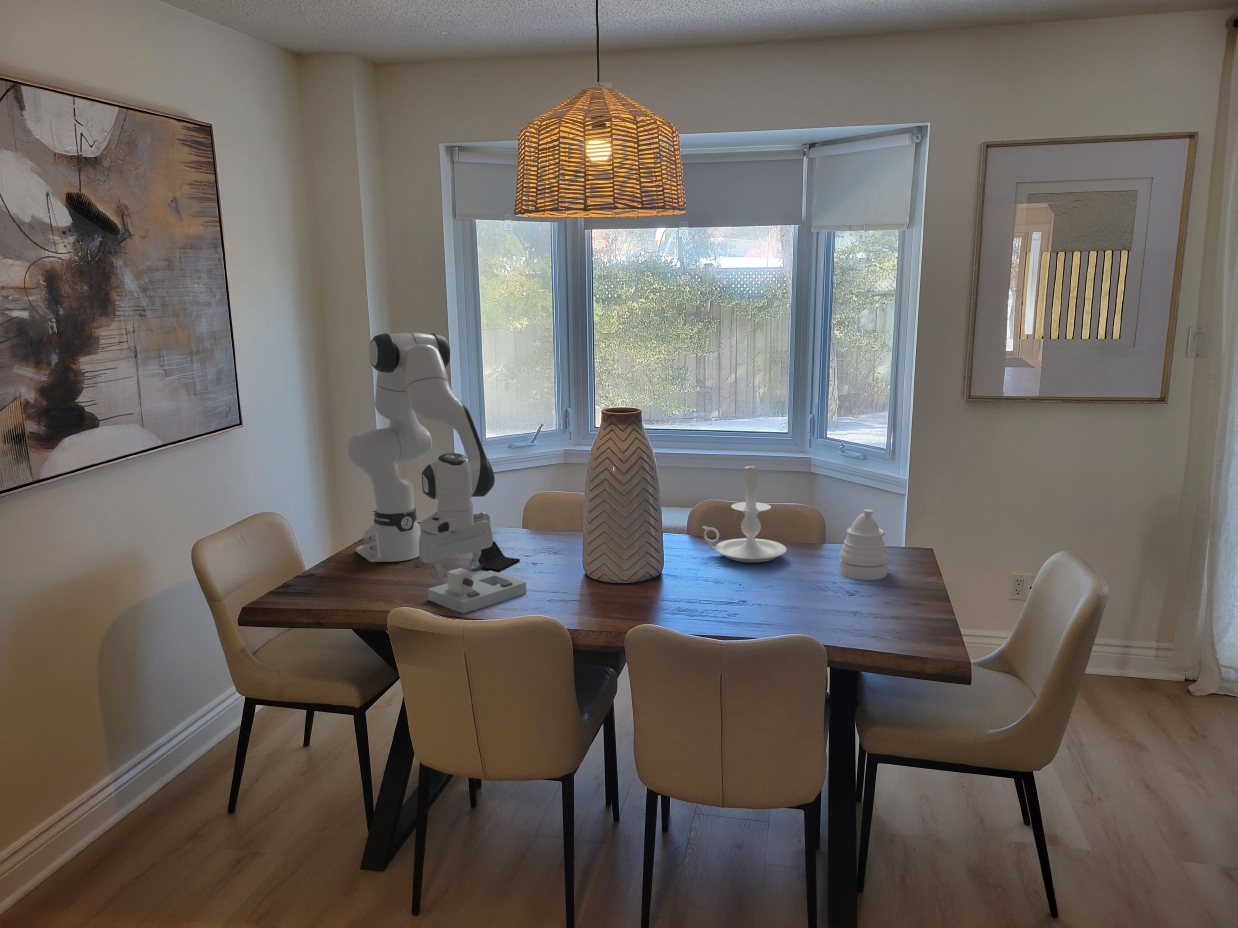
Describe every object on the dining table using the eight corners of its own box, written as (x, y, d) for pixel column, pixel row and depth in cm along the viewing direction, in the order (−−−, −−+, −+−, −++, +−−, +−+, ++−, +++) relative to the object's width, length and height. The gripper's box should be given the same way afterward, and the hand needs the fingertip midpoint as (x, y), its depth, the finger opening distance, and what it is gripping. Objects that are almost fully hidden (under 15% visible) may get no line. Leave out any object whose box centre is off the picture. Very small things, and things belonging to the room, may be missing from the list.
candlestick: (710, 544, 264) (710, 455, 259) (791, 551, 256) (793, 459, 251) (693, 564, 245) (693, 468, 240) (780, 572, 237) (782, 473, 232)
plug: (449, 601, 219) (447, 571, 217) (462, 597, 222) (460, 567, 220) (465, 608, 214) (463, 577, 212) (478, 603, 217) (476, 573, 215)
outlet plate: (428, 599, 220) (427, 586, 220) (491, 580, 234) (490, 568, 234) (463, 614, 210) (462, 600, 209) (526, 593, 224) (525, 580, 223)
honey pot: (895, 578, 230) (898, 513, 227) (849, 580, 229) (851, 515, 226) (876, 563, 243) (879, 502, 239) (832, 566, 242) (834, 504, 238)
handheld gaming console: (506, 567, 241) (486, 538, 242) (487, 581, 243) (468, 552, 244) (523, 561, 252) (504, 533, 253) (505, 574, 254) (486, 546, 255)
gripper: (481, 508, 224) (484, 559, 227) (413, 524, 209) (417, 578, 212) (496, 513, 219) (498, 564, 222) (428, 529, 205) (431, 584, 208)
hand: (458, 571), depth 217 cm, fingers open, 8 cm apart
